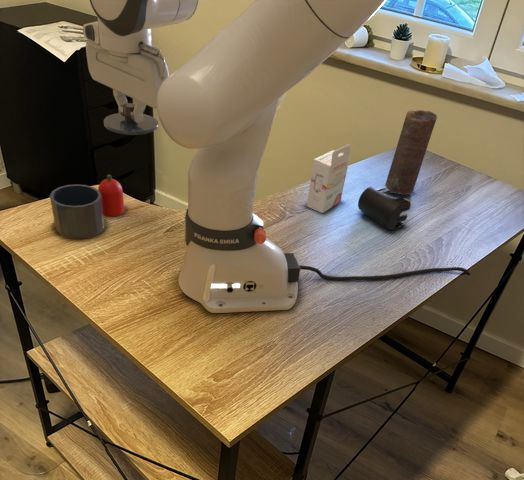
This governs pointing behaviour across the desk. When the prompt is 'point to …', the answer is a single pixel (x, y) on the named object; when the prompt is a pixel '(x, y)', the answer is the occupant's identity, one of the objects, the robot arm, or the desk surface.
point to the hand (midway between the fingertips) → (131, 118)
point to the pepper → (111, 197)
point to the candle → (410, 151)
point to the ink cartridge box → (328, 179)
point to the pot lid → (130, 122)
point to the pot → (77, 211)
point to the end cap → (383, 207)
